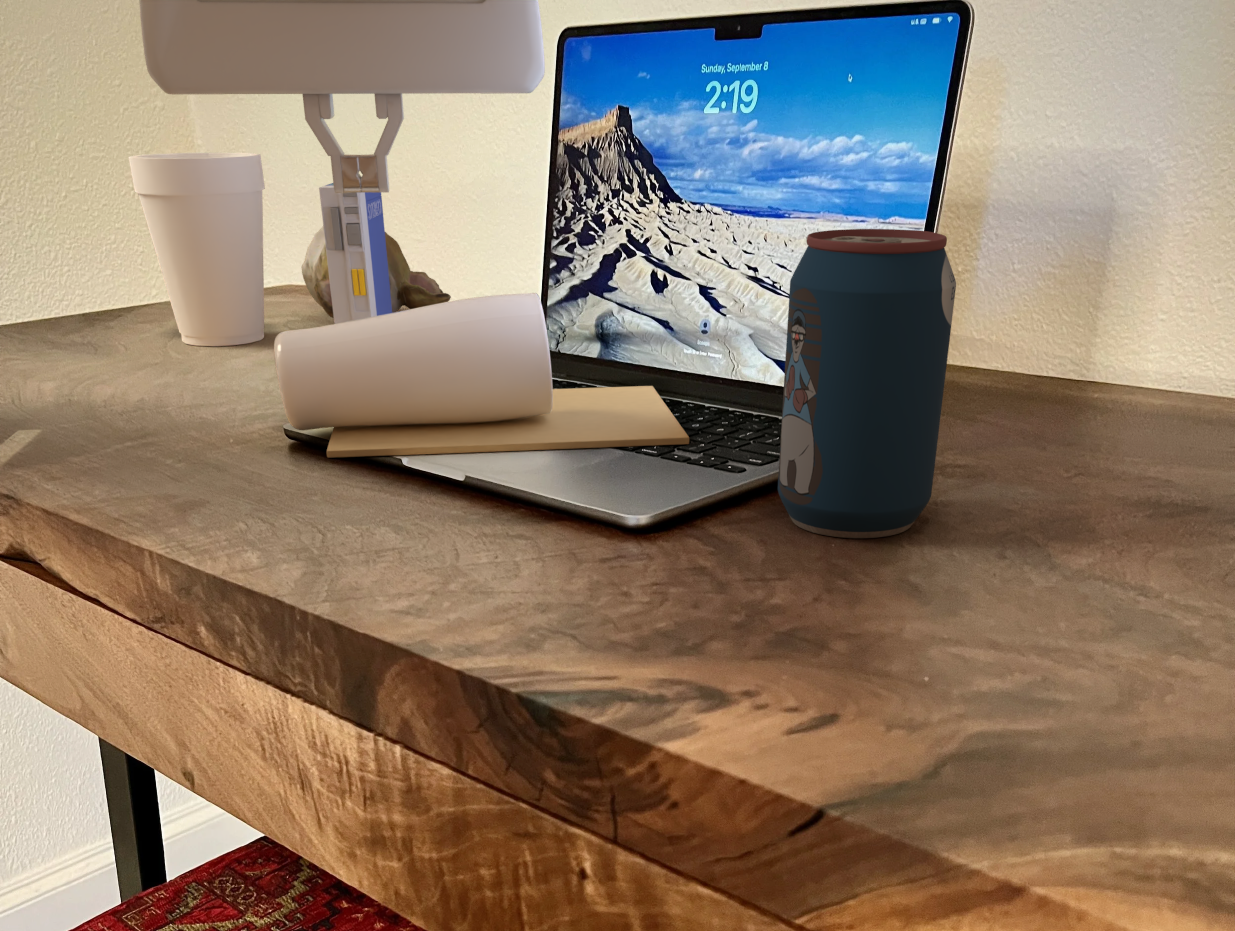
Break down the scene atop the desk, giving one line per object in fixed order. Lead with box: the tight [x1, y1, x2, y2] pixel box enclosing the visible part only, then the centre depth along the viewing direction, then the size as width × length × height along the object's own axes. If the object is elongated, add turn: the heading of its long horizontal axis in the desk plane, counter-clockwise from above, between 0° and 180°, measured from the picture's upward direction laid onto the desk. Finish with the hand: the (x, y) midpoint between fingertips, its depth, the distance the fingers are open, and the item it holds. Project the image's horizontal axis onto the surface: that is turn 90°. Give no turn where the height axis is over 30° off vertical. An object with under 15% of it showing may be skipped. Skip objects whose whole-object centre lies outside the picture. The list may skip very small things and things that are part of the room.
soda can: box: [777, 228, 957, 539], centre depth 55 cm, size 7×7×12 cm
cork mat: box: [326, 385, 690, 459], centre depth 76 cm, size 20×14×1 cm
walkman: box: [318, 182, 392, 324], centre depth 90 cm, size 8×3×12 cm, turn 179°
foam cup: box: [128, 151, 266, 347], centre depth 98 cm, size 10×9×13 cm
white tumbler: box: [273, 292, 554, 431], centre depth 72 cm, size 7×7×15 cm
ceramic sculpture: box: [300, 226, 452, 319], centre depth 107 cm, size 11×9×15 cm
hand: (362, 192), depth 69 cm, fingers closed
